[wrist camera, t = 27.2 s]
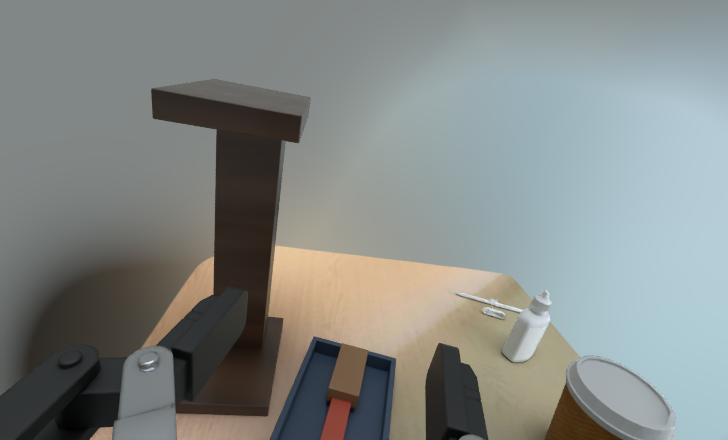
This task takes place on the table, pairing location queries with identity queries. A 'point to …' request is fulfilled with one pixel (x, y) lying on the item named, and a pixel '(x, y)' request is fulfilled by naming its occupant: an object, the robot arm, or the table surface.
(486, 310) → the picture light
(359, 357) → the brush
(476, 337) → the table surface
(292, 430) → the tray
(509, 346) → the eye dropper bottle
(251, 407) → the shelf stand
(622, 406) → the disposable coffee cup
